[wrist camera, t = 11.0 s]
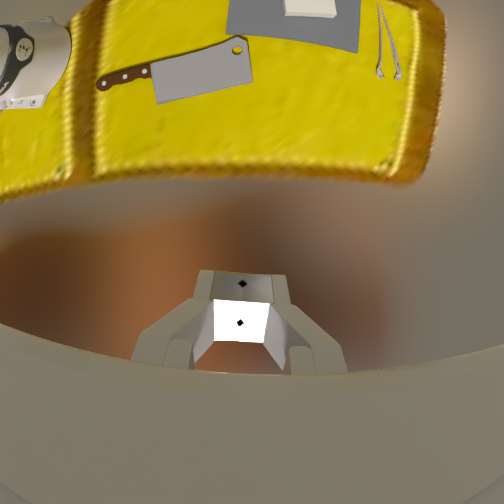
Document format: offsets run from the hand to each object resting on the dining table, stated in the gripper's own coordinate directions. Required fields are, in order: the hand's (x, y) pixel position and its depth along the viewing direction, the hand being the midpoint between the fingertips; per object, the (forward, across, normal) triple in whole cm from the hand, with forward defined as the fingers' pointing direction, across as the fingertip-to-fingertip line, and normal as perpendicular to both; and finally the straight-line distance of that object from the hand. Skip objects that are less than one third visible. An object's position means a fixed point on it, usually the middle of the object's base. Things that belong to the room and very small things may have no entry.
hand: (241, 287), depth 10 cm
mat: (+33, -5, -26) cm, 42 cm away
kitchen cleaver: (+34, +12, -10) cm, 37 cm away
